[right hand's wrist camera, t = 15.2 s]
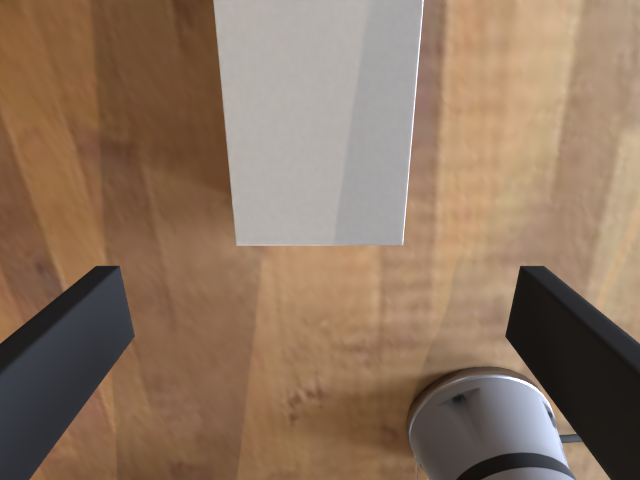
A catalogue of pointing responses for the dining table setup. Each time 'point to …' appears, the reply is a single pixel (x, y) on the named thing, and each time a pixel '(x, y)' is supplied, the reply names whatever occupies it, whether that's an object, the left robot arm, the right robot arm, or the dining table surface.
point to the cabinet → (318, 117)
